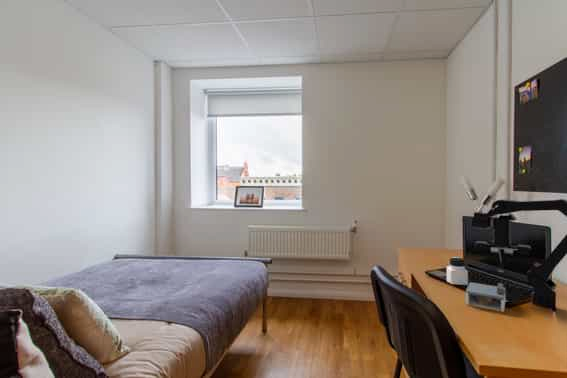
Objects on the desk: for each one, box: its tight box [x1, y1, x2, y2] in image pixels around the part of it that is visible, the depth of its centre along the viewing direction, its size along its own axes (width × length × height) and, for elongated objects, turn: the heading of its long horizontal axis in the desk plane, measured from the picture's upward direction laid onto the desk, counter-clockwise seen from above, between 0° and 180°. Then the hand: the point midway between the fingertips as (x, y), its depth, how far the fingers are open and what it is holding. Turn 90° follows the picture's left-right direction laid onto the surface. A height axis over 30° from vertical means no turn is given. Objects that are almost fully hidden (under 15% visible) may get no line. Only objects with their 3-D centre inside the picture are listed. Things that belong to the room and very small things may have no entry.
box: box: [465, 292, 506, 313], centre depth 124 cm, size 12×12×5 cm
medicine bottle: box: [446, 256, 469, 286], centre depth 148 cm, size 7×7×12 cm
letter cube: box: [479, 295, 492, 306], centre depth 123 cm, size 4×4×4 cm
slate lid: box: [465, 281, 506, 299], centre depth 123 cm, size 12×12×3 cm
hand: (501, 268), depth 130 cm, fingers closed
